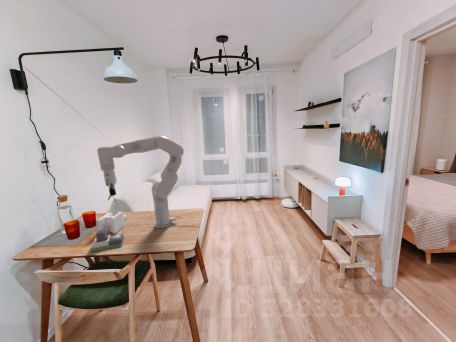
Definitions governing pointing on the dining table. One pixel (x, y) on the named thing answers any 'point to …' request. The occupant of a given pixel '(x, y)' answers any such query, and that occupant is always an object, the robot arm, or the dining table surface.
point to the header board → (108, 243)
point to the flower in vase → (116, 206)
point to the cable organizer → (111, 222)
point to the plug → (101, 235)
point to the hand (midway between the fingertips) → (113, 195)
